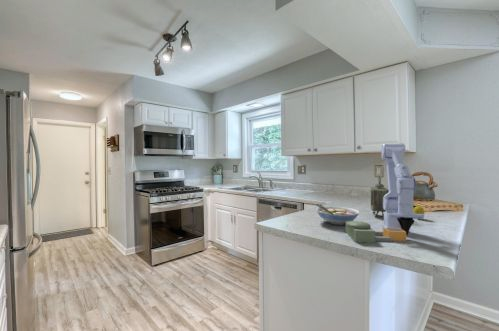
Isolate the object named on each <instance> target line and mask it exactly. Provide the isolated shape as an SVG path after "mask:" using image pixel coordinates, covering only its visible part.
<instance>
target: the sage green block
mask: <svg viewBox="0 0 499 331" xmlns="http://www.w3.org/2000/svg"><path fill="white" fill-rule="evenodd" d="M345 233H346V234H347V236H349V237H350V238H351V239H352V240H353V242H355V243H362V242H368V243H367V244H376V242H389V241H392V238H391V237H383V231H379V230H378V231H376V230H374V229H373V228H371V224H370V223H368V222H364V221H358V220H357V221H356V220H355V221H354V220H353V221H349V222H346V223H345ZM392 242H393V241H392Z"/></svg>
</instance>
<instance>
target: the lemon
mask: <svg viewBox="0 0 499 331" xmlns="http://www.w3.org/2000/svg"><path fill="white" fill-rule="evenodd" d="M413 213H415V214H423V215H424V216H425V209H424V207H422V206H420V205H416V206H415V207H413Z"/></svg>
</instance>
